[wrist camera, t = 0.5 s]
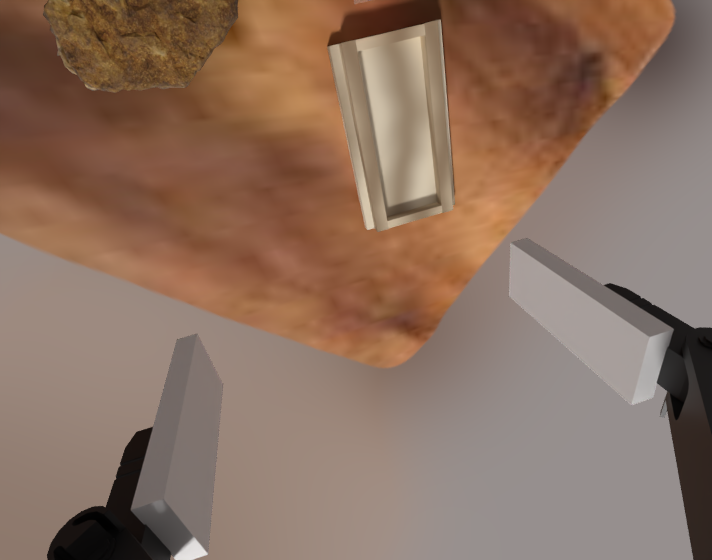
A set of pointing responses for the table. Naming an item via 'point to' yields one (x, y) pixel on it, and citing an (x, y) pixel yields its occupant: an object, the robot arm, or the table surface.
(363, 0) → the clay block
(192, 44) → the decorative rock
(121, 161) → the table surface
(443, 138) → the cream rectangular tray
